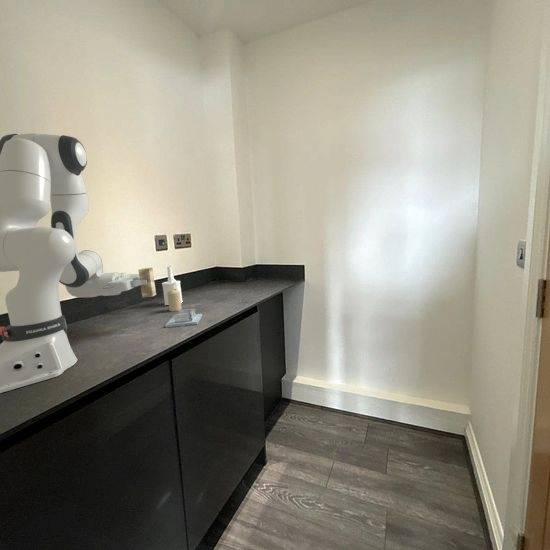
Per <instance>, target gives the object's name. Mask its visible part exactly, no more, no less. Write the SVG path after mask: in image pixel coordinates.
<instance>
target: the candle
mask: <svg viewBox="0 0 550 550" xmlns="http://www.w3.org/2000/svg"><path fill="white" fill-rule="evenodd" d="M167 295H168V302H169V306H168V307H169V309H168V310H169V311H170V312H178V311H179V310H183V309H182V303H181V299H180V292H179V291H178V290H177V289H172V290H169V292H168V293H167Z"/></svg>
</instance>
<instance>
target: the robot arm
mask: <svg viewBox="0 0 550 550" xmlns="http://www.w3.org/2000/svg"><path fill="white" fill-rule="evenodd" d="M87 164H88V156H87V152H86V149H85V147H84V145H83V143H82V142H81V141H79V139H78V138H76V137H73V136H70V135H64V134H62V135H56V134H46V133H45V134H44V133H20V134H18V133H11V134H9V133H8V134H6V135H3V136H2V137H1V138H0V272H1V273H5V272H17V271H18V273H19V276H18V280H17V283H16V285H15V286H14V287H12V289H10V290H9V291H8V292H7V293H6V295H5V298H4V299H5V300H4V301H5V305H6V308H7V309H6V310H7V314H8V319H9V323H10V324H9V325H7V326H0V335H1V337H2V340H3V341H2V342H1V343H0V394H2V393H4V392H9V391H12V390H15V389H18V388H22V387H26V386H29V385H32V384H36V383H40V382H44V381H46V380H49V379H53V378H57V377H59V376H60V375H62V374H63V373H64V371H66V370H68V369H69V368H71V367H72V366H74V365H75V364H76V363H77V361H78V358H77V356H76V355H75V352H74V351H73V348H72V347H71V345H70V341H69V339H68V328H67V322H66V318H65V315H63V314H62V309H61V307H62V306H61V302H60V295H59V294H60V293H59V286H60V285H59V284H62V285H63V286H65V289H66V291H67V293H68V294H69V295H71V296H73V297H75V298H94V297H99V296H104V297H108V296H118V295H119V296H120V295H121V293H122V292H128V291H130V290H133V289H134V288H136V287H139V286H141V285H146V284H148V280H147V279H146V280H140V278H139V273H126V272H105V273H104V267H103V260H102V258H101V256H100V255H99V254H98V253H97V252H96V251H93V250H90V249H85V250H81V251H79V252H78V246H77V240H76V233H77V232H76V231H77V230H78V229H77V228H78V226H79V225H80V223H81V222H82V221H83V219H84V218H85V217H86V216H87V215H88V213H89V210H90V209H89V208H90V201H89V196H88V191H87V187H86V184H85V181H84V178H83V175H82V172H83V171H84V170H85V168H86V166H87ZM50 210H51V217H50V227H47V226H37V227H35V226H36V225H37V223H38V222H39V221H40V220H41V219H42V218H44V217H46V216H47V214H49V212H50Z"/></svg>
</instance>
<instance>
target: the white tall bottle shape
mask: <svg viewBox="0 0 550 550" xmlns="http://www.w3.org/2000/svg"><path fill="white" fill-rule="evenodd" d="M174 275H175V274H173V268H172V267H171V265H167V276H168V277H167V281H164V282H162V283H161V286H162V290H163V299H164V306H166V305H169V302H168V295H167V293H168V292H169V290H172V289H177V290H178V291H179V292H180V299H181V304H183V303H184V301H183V296H182V295H183V294H182V288H181V280H177V279H175V278H174ZM182 302H183V303H182Z"/></svg>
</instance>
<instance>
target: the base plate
mask: <svg viewBox="0 0 550 550" xmlns="http://www.w3.org/2000/svg"><path fill="white" fill-rule="evenodd" d="M195 314H196V316H195V317H194V319H193V320H192V321H186V322H176V323H175V319H174V315H173V316H172V318H171V317H170V319H169V320H168V321H167V323H166V324H165V326H164V327H165V328H177V327H184V326H186V325H187V326H195V325H196V324H197V325H198V323H199V322H200V320H201V319H202V317H203V314H202V313H195ZM197 325H196V326H197Z"/></svg>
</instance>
